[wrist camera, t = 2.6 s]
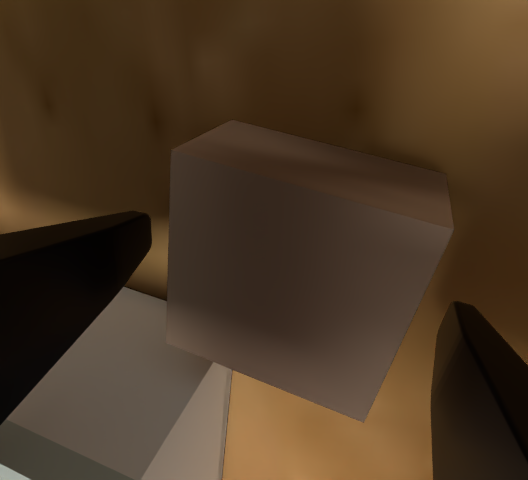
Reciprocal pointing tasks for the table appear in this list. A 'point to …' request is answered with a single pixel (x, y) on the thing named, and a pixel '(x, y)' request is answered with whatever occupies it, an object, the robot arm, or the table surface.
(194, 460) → the slot box
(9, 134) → the table surface
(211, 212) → the brown square block
